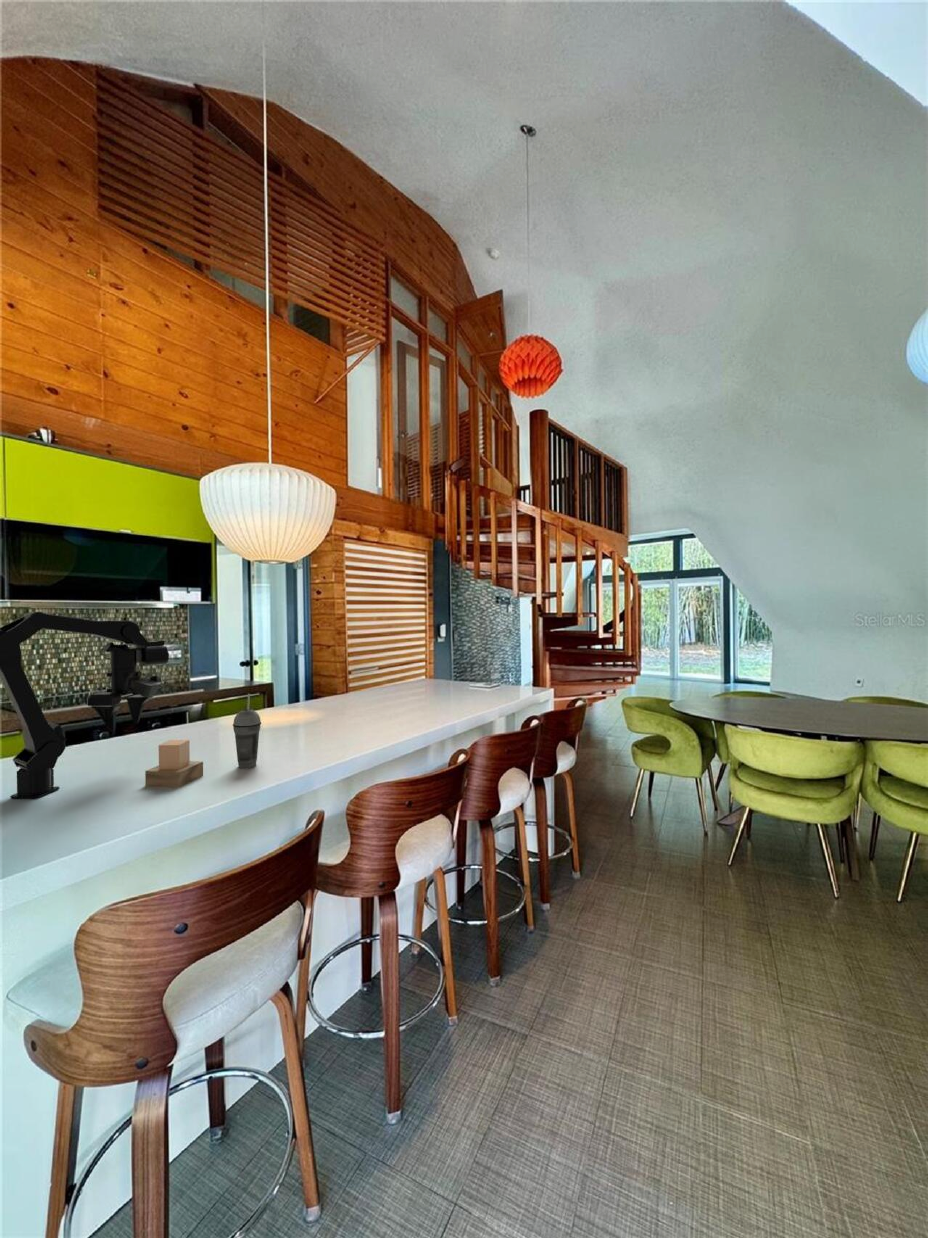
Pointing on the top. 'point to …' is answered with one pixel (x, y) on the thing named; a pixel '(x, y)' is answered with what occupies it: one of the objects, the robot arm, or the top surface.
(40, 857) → the top surface
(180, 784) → the walnut box
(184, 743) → the terracotta cube
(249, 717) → the beverage cup
